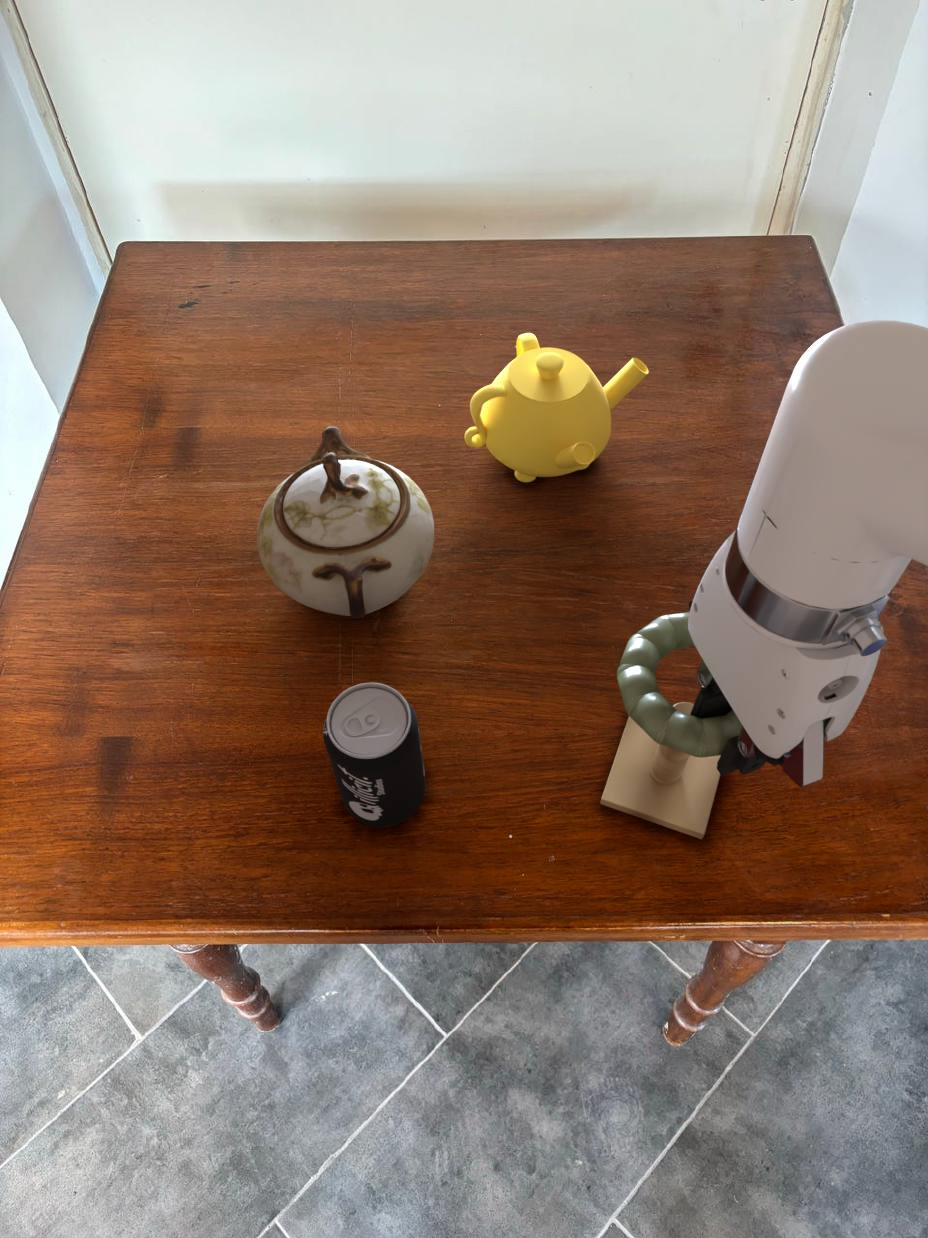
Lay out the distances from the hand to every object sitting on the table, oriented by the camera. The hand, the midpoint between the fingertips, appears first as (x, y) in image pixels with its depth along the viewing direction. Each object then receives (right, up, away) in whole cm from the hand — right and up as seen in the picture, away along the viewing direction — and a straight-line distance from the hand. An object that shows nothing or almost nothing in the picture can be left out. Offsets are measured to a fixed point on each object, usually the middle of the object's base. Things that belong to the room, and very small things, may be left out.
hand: (725, 739), depth 60 cm
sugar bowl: (-27, +11, +25) cm, 38 cm away
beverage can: (-23, -6, +14) cm, 27 cm away
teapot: (-8, +24, +33) cm, 42 cm away
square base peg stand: (-1, -5, +14) cm, 15 cm away
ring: (-1, +4, +1) cm, 4 cm away
